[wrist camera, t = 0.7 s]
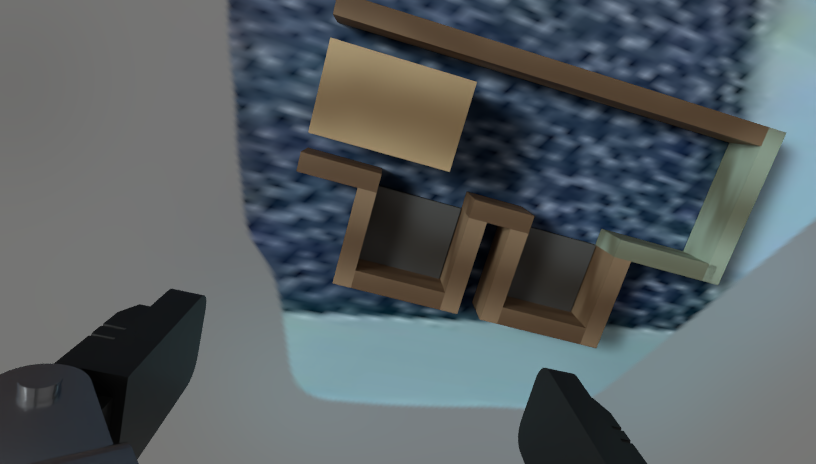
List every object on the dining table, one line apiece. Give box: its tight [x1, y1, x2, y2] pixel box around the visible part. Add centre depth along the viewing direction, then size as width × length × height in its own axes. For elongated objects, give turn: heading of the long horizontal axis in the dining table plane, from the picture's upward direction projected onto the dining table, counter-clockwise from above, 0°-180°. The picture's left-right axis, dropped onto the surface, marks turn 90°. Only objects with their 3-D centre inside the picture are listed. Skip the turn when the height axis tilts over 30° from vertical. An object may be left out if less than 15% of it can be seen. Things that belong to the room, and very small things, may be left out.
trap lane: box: [297, 0, 786, 348], centre depth 33 cm, size 17×29×3 cm, turn 74°
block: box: [309, 38, 477, 172], centre depth 30 cm, size 5×8×6 cm, turn 74°
